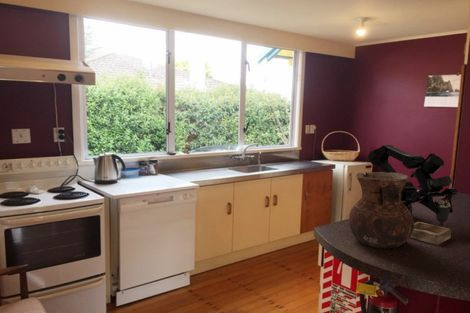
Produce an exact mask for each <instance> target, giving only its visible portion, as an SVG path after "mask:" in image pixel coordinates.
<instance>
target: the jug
mask: <svg viewBox="0 0 470 313" xmlns="http://www.w3.org/2000/svg"><path fill="white" fill-rule="evenodd" d="M355 177H356V179H357V181H358V182H359V186H360V189H361V197H360V199H358V201H356V202H355V204H354V205H353V206H352V207H351V209H350V210H349V215H348V216H349V217H348V221H349V227H350V231H351V233H352V235H353V236H354V237H355V239H356V240H358V242H359V243H362V244H363V245H365V244H366V246H369V247H371V248H376V249H394V248H399V247H401V246H402V245H403V244H405V243H406V242H407V241H408V240H409V239H411V238H410V237H411V235H412V232H413V230H414V217H412V215H413V214H412V215H411V213H410V211H409V210H408V208H407V207H406V206H405V205H404V204H403V202H402V201H401V192H402V189H403V187H404V186H405V184H406V183H407V182H409V180H410V176H409V175H407V174H404V173H403V172H402V173H401V172H397V173H394V172H391V173H385V172H382V171H378V172H377V171H373V172H357V173H356V176H355Z"/></svg>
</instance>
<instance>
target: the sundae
mask: <svg viewBox="0 0 470 313" xmlns="http://www.w3.org/2000/svg"><path fill="white" fill-rule="evenodd" d="M448 195H449V194H447V195H446V196H447V199H446V200H445V197H446V196H445V197H444V198H442V199H441V198H439V199H438V200H435V201H434V203H435V205H436V207H437V209H438V211H439V213H438V214H436V213H435V219H436V221H437V222H439V225H438V226H440V227H444V226H443V225H444V224H443V223H445V222H446V221H448V218H449V215H450V209H451V208H452V209H453V206H452V207H451V205H450V203H449V202H448V201H449V200H448Z"/></svg>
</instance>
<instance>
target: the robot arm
mask: <svg viewBox="0 0 470 313" xmlns="http://www.w3.org/2000/svg"><path fill="white" fill-rule="evenodd" d="M390 157H391V158H394V159H395V160H397V161H399V162H401V164H402V166H404V167H406V169H407V170H412V171H411V174H410V178H412V179H414V178H415V179H416V180H417V182H418V184H419V185H418V186H417V187H418V188H419V189H417V187H416V186H415V185H414V184H413V182H411V181H408V182H407V183H406V184H405V186H404V187H403V189H402V192H401V201H402V202H403V204H404V205H405V206H406V207H407V208H408V210H409V211H410V213H411V215H412V218H414V215H413V206H412V204H416V203H418V204H419V205H420V204H421V205H422V206H424V207H426V208H427V209H429V210H430V211H431V212H433V213H434V214H435V215H436V214H438V213H439V211H438V209H437V207H436V205H435V203H434V202H435V201H434V198H439V199H442V198H444V197H445V196H446V195H447V194H449V195H448V200H449V201H448V202H449V203H450V205H451V207H452V208H451V209H450V212H449V214H452V213H453V212H454V209H453V204H452V199H453V198H454V197H455V196H456V195H458V194H459V192H458V190H457V188H455V187H447V186H450V185H451V184H452V183H453V182H452V179H451V177H450V176H449V175H445V176H443V177H437V178H433V176H432V175H434V174H436V173H437V172H438V171H439V170H440V169H441V168H442V167H443V166H444V165H445V161H444V160H443V158H441V157H440V156H438V155H436V154H435V153H429V154H428V156H426V158H425V157H424V156H422V155H420V154H419V155H418V154H414V153H413V154H412V153H408V152H405V151H403V150H401V149H399V148H397V147H395V146H394V145H391V144H383V145H381V146H380V147H378V148H376V149H374V150H372V151H370V152H369V153H368V155H367V160H368V162H369V163H371V164H372V165H373V166H375V167H377V168H379V169H380V172H385V173H391V172H394V173H398V172H397V171H396V170H395V168H394V167H393V166H392V165H391V163H390V161H389V158H390ZM413 170H414V171H413ZM444 187H446V188H445V189H444ZM442 190H443V191H442ZM446 199H447V196H446V197H445V200H446Z"/></svg>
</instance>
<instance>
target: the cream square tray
mask: <svg viewBox="0 0 470 313" xmlns="http://www.w3.org/2000/svg"><path fill="white" fill-rule="evenodd" d="M451 234H452V229H451V228H447V227H444V226H443V227H440V226H439V225H436V224H431V223H426V222H422V221H416V222H415V223H414V230H413V232H412V235H411V237H410V238H409V239H413V240H417V241H421V242H425V243H429V244H432V245H436V246H438V245H441V244H443V243H444V242H446V241H447V240H449V239H451V236H452V235H451Z"/></svg>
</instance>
